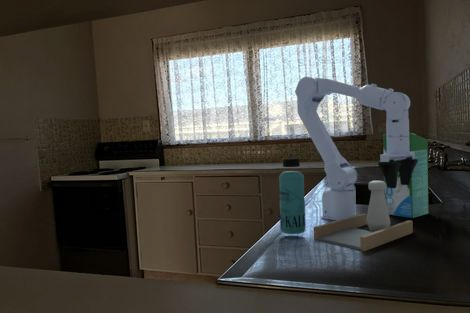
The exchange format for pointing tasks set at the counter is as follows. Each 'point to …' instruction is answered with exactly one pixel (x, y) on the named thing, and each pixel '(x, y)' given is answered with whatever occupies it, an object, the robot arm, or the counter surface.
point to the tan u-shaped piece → (359, 233)
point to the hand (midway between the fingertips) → (398, 186)
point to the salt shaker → (377, 207)
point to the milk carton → (416, 194)
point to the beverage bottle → (292, 199)
